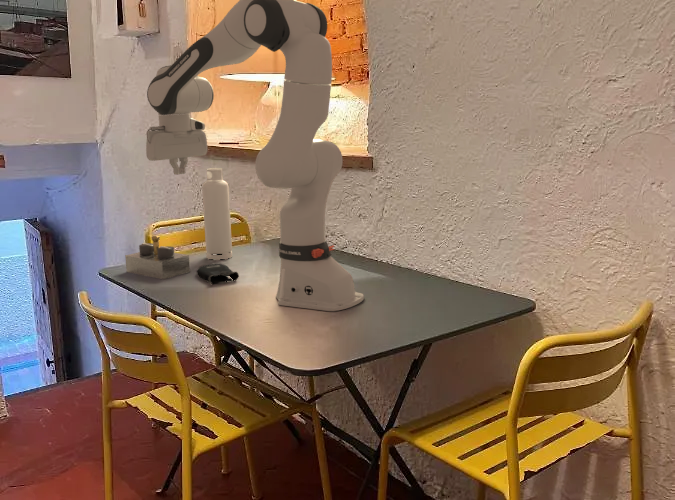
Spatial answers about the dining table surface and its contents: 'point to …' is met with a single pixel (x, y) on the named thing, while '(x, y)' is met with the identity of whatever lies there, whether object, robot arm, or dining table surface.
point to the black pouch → (216, 272)
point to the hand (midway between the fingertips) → (179, 174)
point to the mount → (157, 265)
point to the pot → (155, 244)
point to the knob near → (165, 252)
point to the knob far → (146, 249)
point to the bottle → (217, 215)
